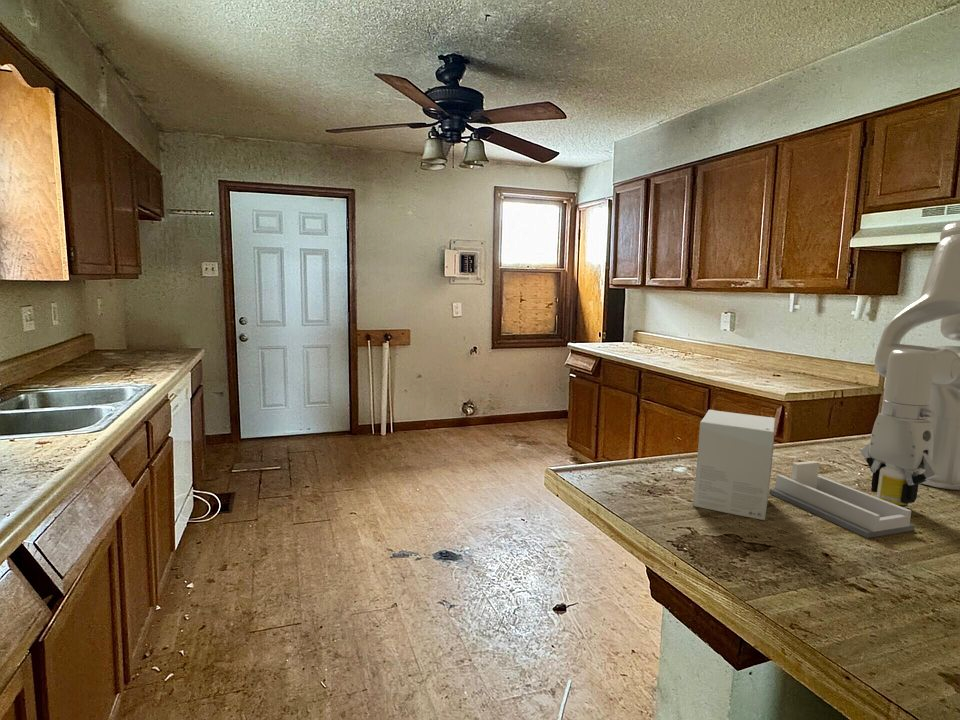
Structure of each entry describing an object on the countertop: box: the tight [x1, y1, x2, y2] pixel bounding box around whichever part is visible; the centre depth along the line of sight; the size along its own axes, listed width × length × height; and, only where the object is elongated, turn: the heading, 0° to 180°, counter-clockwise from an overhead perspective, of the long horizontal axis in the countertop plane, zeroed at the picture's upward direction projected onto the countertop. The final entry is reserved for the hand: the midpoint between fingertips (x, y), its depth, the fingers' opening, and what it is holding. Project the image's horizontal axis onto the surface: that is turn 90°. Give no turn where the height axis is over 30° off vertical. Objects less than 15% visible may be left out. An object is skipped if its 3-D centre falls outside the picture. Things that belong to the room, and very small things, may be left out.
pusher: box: [790, 460, 820, 489], centre depth 122 cm, size 6×1×6 cm, turn 109°
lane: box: [768, 474, 916, 539], centre depth 115 cm, size 12×22×4 cm, turn 19°
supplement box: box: [692, 409, 776, 521], centre depth 116 cm, size 13×13×18 cm
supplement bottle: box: [875, 463, 909, 509], centre depth 118 cm, size 5×5×10 cm
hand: (892, 496), depth 118 cm, fingers closed on supplement bottle, 5 cm apart
